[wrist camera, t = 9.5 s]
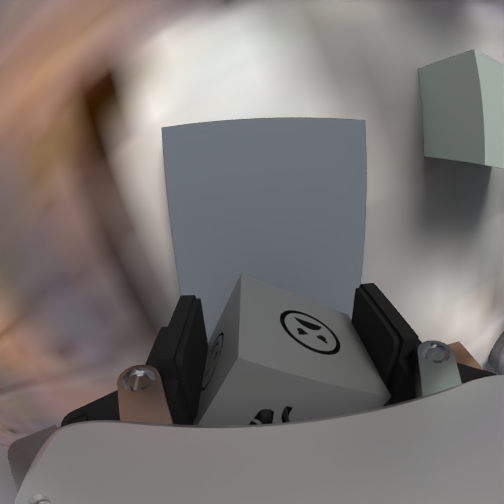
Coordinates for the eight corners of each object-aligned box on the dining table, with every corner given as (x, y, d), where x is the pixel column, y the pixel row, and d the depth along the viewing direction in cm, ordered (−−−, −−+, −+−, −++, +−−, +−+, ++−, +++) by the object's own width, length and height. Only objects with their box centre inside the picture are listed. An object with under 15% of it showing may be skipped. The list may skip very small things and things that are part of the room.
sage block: (487, 91, 11) (541, 87, 7) (490, 166, 13) (547, 178, 8) (416, 69, 11) (474, 49, 7) (422, 156, 13) (484, 164, 8)
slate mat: (357, 122, 12) (365, 120, 11) (339, 382, 18) (343, 392, 17) (167, 129, 12) (161, 127, 11) (205, 392, 18) (204, 402, 17)
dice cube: (241, 272, 11) (238, 357, 6) (348, 314, 12) (391, 396, 7) (198, 362, 13) (181, 450, 8) (293, 390, 13) (307, 473, 9)
